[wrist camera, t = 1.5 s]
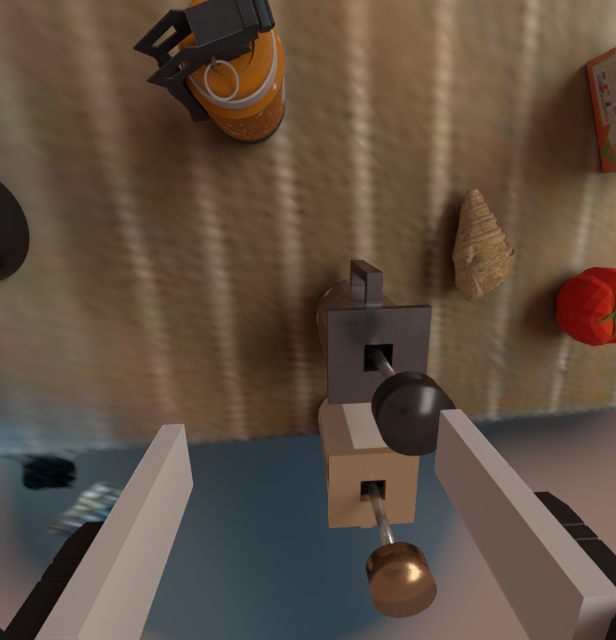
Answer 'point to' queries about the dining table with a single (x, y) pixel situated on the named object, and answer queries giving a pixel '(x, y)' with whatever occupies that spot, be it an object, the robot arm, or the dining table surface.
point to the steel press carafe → (367, 334)
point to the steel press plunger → (405, 405)
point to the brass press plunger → (396, 568)
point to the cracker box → (604, 105)
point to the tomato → (589, 306)
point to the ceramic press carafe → (363, 468)
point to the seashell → (479, 249)
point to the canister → (223, 65)
